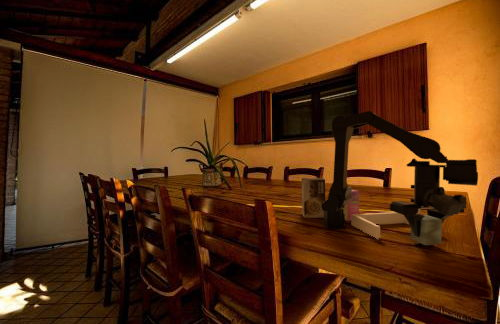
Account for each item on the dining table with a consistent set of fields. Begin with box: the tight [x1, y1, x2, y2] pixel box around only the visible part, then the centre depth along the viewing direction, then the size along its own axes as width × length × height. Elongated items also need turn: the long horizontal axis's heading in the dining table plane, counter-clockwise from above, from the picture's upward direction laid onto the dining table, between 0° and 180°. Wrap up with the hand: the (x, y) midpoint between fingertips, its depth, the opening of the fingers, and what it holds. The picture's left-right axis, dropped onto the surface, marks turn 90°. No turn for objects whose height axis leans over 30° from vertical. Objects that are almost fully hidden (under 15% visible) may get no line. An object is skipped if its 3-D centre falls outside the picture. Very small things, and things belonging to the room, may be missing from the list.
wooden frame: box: [350, 211, 410, 240], centre depth 78 cm, size 22×14×4 cm, turn 97°
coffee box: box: [301, 177, 326, 219], centre depth 96 cm, size 9×6×16 cm
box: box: [342, 189, 360, 222], centre depth 94 cm, size 10×6×12 cm, turn 17°
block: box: [410, 214, 443, 246], centre depth 65 cm, size 5×5×7 cm
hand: (425, 236), depth 65 cm, fingers closed on block, 5 cm apart
